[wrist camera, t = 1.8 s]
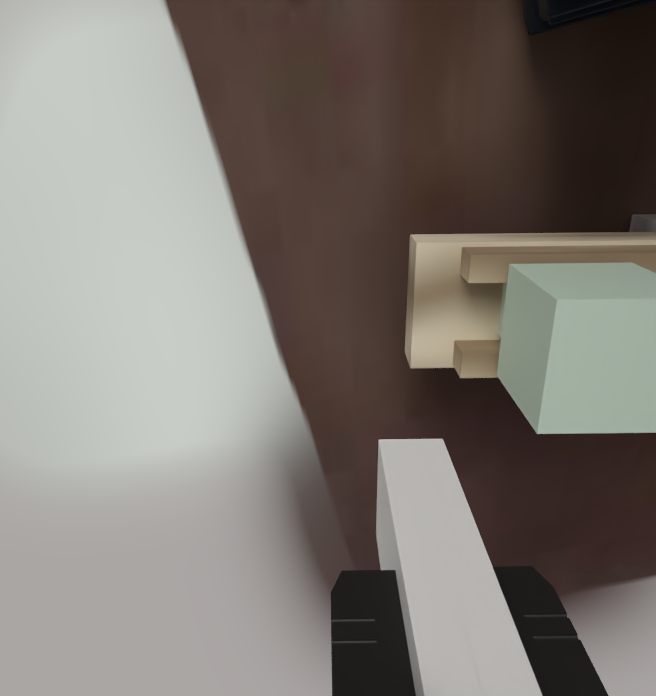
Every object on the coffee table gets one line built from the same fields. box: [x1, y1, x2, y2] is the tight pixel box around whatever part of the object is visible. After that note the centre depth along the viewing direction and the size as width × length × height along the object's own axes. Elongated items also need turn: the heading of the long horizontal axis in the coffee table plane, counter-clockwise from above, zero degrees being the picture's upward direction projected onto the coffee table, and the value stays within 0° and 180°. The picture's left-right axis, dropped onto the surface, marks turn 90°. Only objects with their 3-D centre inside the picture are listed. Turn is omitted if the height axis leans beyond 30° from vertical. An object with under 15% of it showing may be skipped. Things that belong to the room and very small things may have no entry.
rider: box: [497, 262, 656, 434], centre depth 22 cm, size 5×5×7 cm
